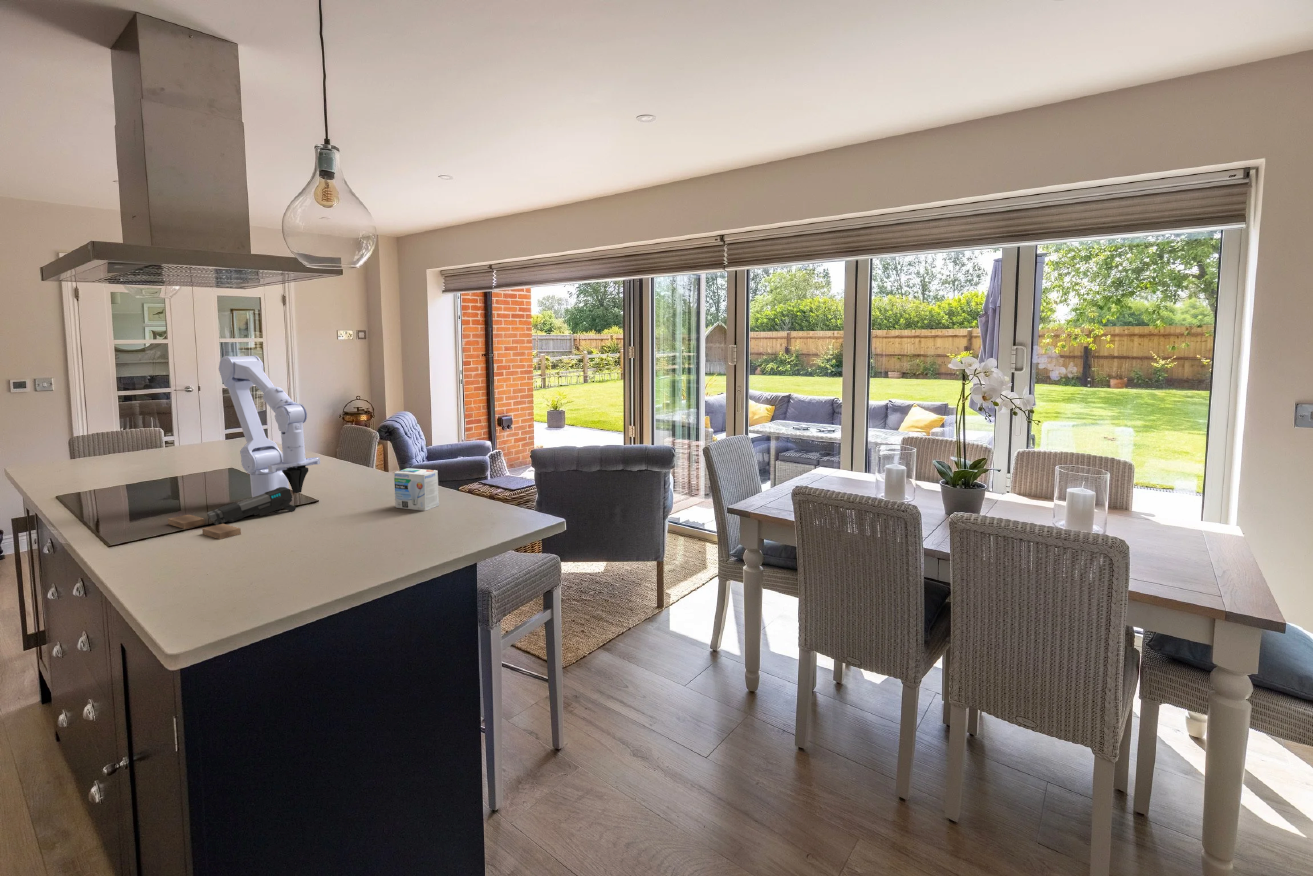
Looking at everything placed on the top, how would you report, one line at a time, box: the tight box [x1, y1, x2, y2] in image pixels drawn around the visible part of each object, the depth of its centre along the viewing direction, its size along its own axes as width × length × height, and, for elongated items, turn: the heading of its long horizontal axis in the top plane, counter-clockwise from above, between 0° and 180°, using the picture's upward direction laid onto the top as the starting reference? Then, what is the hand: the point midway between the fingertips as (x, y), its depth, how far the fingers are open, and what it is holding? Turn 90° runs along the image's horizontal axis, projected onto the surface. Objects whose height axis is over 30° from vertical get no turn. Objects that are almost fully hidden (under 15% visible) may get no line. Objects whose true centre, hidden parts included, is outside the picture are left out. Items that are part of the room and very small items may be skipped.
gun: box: [206, 487, 297, 525], centre depth 184 cm, size 4×20×10 cm, turn 137°
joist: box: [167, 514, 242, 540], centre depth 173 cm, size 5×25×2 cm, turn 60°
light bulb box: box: [393, 467, 440, 512], centre depth 196 cm, size 11×7×11 cm, turn 73°
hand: (297, 492), depth 195 cm, fingers closed
